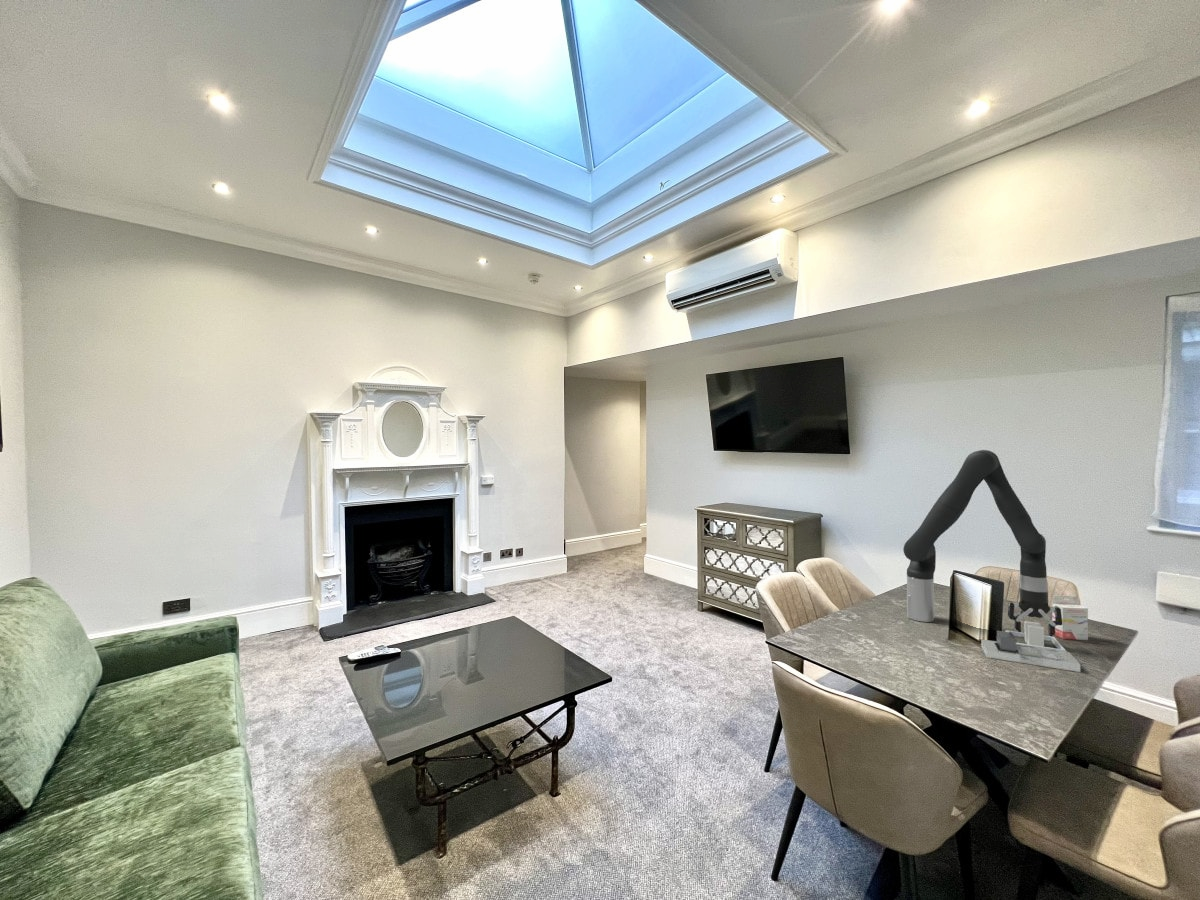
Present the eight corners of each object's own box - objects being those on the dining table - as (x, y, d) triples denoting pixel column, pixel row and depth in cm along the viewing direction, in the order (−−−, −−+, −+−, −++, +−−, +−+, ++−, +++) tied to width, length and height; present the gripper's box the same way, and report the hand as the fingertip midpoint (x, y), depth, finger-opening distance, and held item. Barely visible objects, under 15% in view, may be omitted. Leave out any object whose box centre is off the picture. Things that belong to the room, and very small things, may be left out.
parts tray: (1014, 647, 168) (1014, 643, 168) (1005, 634, 180) (1005, 630, 180) (1066, 655, 162) (1066, 650, 162) (1053, 640, 173) (1053, 636, 173)
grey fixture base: (986, 657, 161) (986, 636, 161) (981, 646, 170) (981, 626, 170) (1080, 672, 149) (1080, 649, 149) (1069, 659, 158) (1069, 638, 158)
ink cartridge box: (1063, 639, 174) (1062, 599, 174) (1051, 634, 179) (1051, 595, 179) (1089, 640, 173) (1088, 599, 173) (1076, 634, 178) (1076, 595, 178)
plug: (1029, 646, 169) (1028, 626, 169) (1024, 640, 174) (1024, 621, 174) (1044, 648, 167) (1043, 628, 167) (1039, 642, 172) (1038, 622, 172)
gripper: (1010, 588, 171) (1011, 633, 171) (1064, 593, 164) (1065, 641, 164) (1005, 583, 178) (1006, 627, 177) (1057, 588, 170) (1058, 633, 170)
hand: (1034, 633), depth 171 cm, fingers open, 8 cm apart
